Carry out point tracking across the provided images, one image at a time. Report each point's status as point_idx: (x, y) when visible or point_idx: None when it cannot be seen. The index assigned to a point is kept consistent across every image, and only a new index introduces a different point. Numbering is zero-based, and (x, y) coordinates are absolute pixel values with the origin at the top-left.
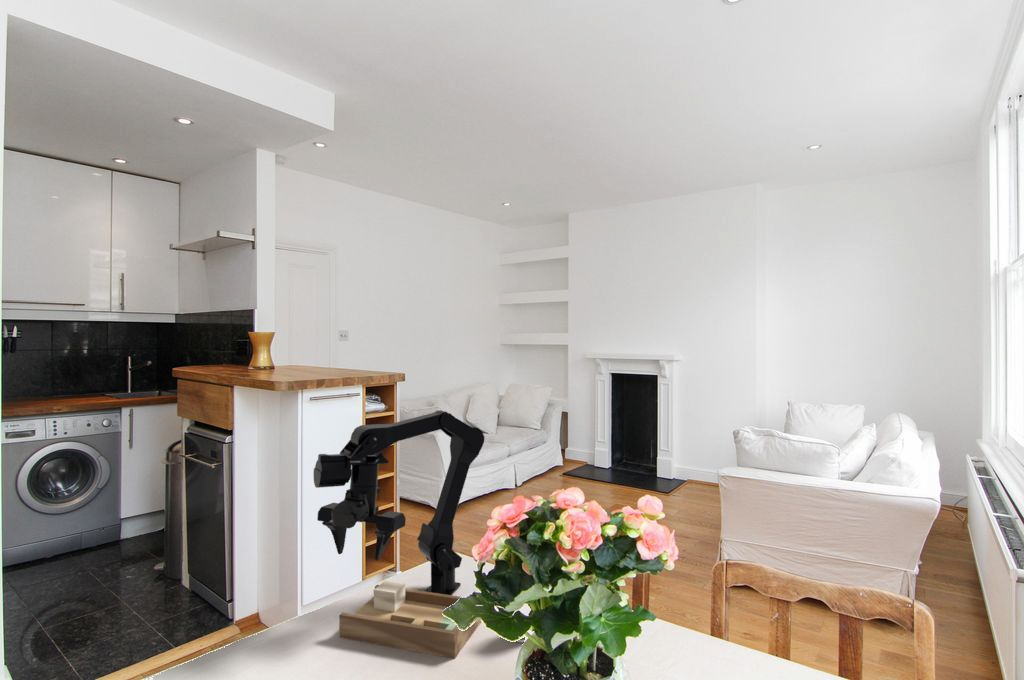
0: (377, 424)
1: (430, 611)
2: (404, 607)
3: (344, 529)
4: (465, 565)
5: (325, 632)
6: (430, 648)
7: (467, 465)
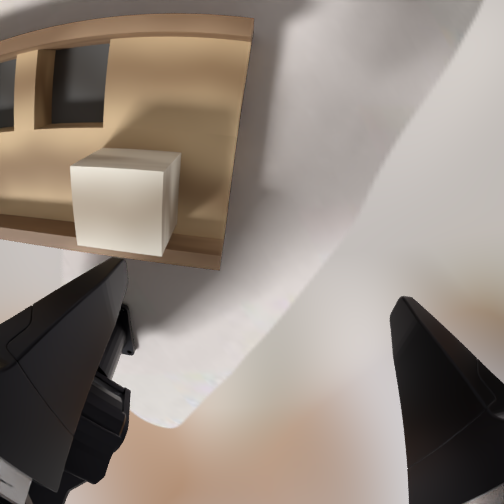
0: None
1: (21, 179)
2: None
3: (422, 452)
4: None
5: (314, 56)
6: None
7: None
